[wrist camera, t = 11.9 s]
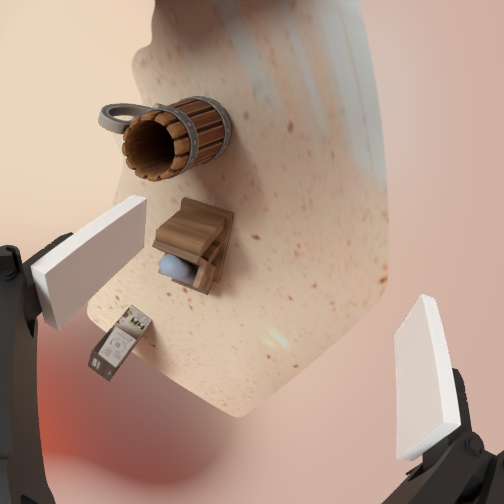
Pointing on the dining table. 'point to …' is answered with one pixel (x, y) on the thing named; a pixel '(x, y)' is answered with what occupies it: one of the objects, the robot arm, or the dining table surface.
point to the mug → (169, 135)
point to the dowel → (178, 269)
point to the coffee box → (118, 343)
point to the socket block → (197, 240)
